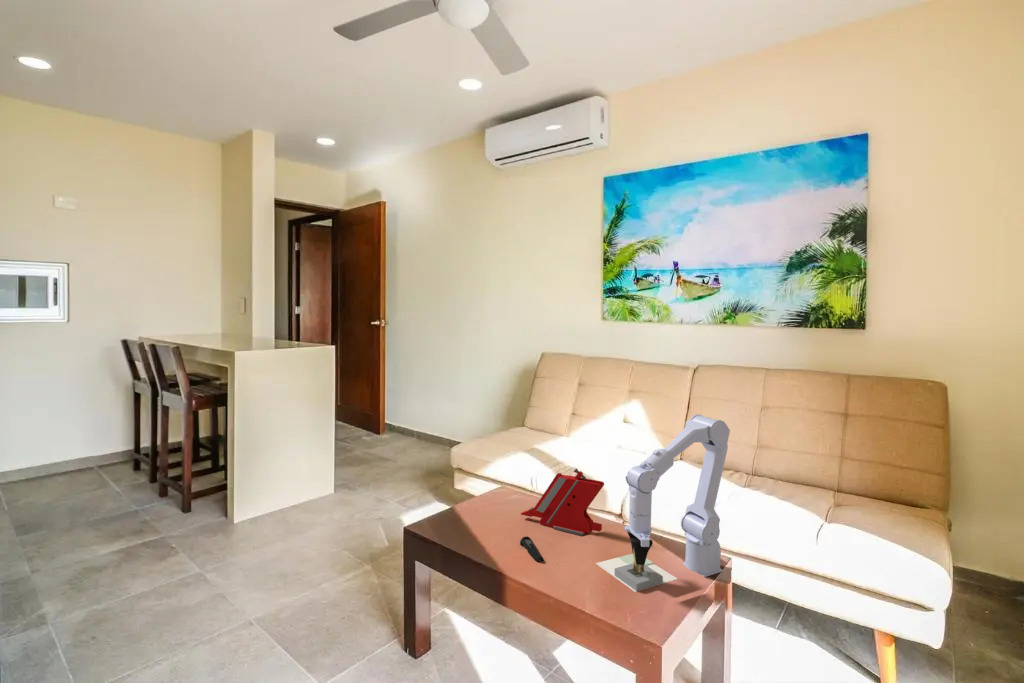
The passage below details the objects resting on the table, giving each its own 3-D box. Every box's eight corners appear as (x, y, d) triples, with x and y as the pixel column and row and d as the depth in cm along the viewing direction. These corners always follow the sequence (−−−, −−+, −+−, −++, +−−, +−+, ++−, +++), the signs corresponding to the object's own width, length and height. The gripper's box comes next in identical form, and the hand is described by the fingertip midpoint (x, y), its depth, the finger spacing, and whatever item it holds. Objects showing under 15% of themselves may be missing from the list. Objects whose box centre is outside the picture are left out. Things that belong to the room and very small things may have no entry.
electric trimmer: (534, 568, 150) (534, 557, 150) (518, 544, 165) (519, 534, 164) (546, 566, 151) (546, 556, 151) (530, 543, 166) (530, 533, 166)
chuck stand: (635, 555, 157) (636, 546, 157) (677, 582, 142) (678, 571, 142) (595, 566, 151) (595, 556, 150) (634, 595, 136) (635, 584, 135)
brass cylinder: (631, 566, 143) (632, 541, 143) (642, 567, 143) (643, 542, 143) (634, 572, 140) (634, 546, 140) (645, 572, 140) (646, 547, 140)
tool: (516, 517, 182) (546, 453, 174) (524, 510, 187) (553, 448, 179) (581, 564, 172) (617, 499, 164) (587, 556, 177) (622, 492, 169)
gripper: (620, 501, 148) (619, 548, 149) (630, 522, 134) (628, 574, 134) (646, 502, 148) (644, 549, 149) (658, 523, 133) (656, 574, 134)
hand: (638, 561), depth 141 cm, fingers closed on brass cylinder, 3 cm apart
